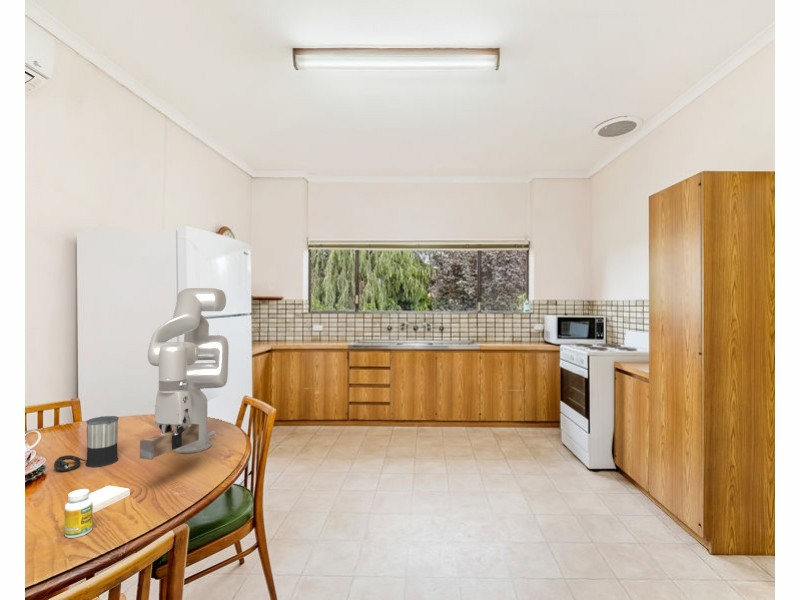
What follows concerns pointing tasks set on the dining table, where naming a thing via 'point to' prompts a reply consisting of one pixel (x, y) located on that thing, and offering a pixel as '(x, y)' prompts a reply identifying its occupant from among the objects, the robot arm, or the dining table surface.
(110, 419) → the milk frother
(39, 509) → the dining table surface
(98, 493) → the tile
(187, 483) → the dining table surface
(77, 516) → the supplement bottle
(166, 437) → the bar
